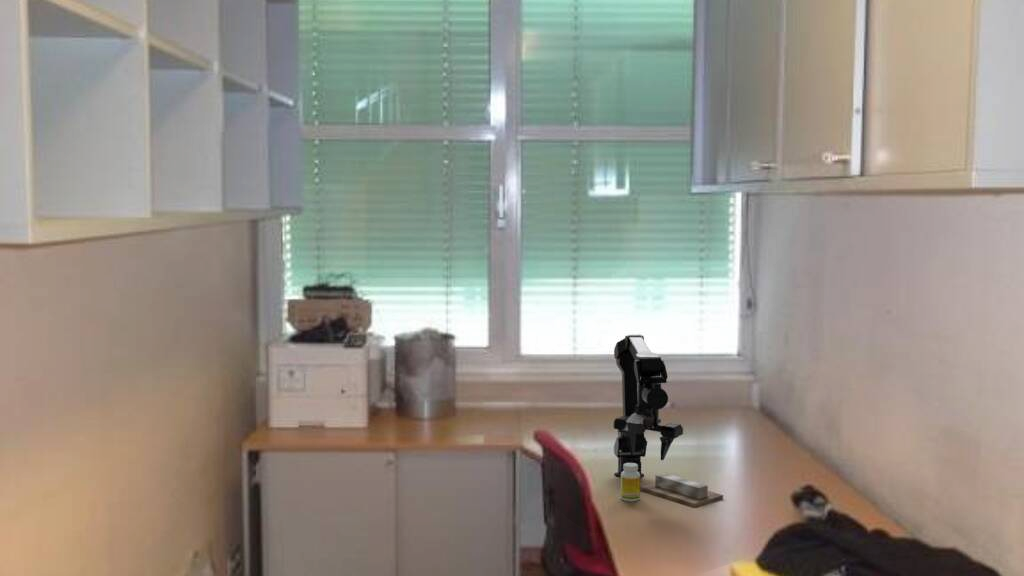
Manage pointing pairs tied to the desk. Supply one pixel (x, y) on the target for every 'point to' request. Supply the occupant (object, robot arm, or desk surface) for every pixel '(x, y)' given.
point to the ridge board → (679, 496)
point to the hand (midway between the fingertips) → (647, 457)
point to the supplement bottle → (630, 482)
